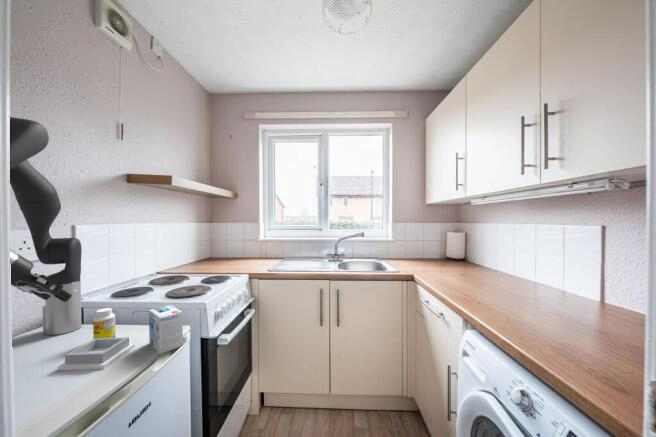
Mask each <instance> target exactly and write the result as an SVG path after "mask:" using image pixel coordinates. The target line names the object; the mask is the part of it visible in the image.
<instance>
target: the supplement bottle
mask: <svg viewBox="0 0 656 437" xmlns="http://www.w3.org/2000/svg"><path fill="white" fill-rule="evenodd" d="M92 325H93V326H92V330H93V331H92V333H93V335H92V336H93V338H92V339H95V338H116V314H114V313H113V309H112V308H111V307H106V308H100V309H97V310H96V312H95V316H94V317H93V319H92Z"/></svg>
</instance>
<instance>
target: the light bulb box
mask: <svg viewBox="0 0 656 437" xmlns="http://www.w3.org/2000/svg"><path fill="white" fill-rule="evenodd" d="M148 319H149V320H148V325H149V326H148V330H149V333H148V334H149V335H148V336H149V344H150V345H151V346H152V348H154V350H156V352H157V353H158V354H163V353H166V352H170V351H173V350H176V349H178V348H181V347H184V339H183V338H184V335H183V333H184V332H183V331H184V330H183V326H184V325H183V311H182V310H180V309H178V308H177V307H175V306H173V305H171V304H169V305H165V306H162V307H157V308H153V309H149V310H148Z"/></svg>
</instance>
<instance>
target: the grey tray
mask: <svg viewBox="0 0 656 437" xmlns="http://www.w3.org/2000/svg"><path fill="white" fill-rule="evenodd" d="M134 348H136V344H135V343H130V337H129V336H127V337H125V336H124V337H115V338H95V339H94V338H92V339H91V340H90V341H88V342H86V343H84V344H83V345H80V346H78V347H77V348H75V349H73V350H72V351H69V352H68V353H66V354H65V355H64V362H63V363H62V364H59V365H58V366H57V371H73V370H76V371H77V370H104V369H106V368H108V367H109V366H110V365H112V364H113V363H114V362H116V361H117V360H119V359H120V358H121V357H123V356H124V355H126V354H127V353H129V352H130V351H131V350H133V349H134Z"/></svg>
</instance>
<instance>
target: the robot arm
mask: <svg viewBox="0 0 656 437" xmlns="http://www.w3.org/2000/svg"><path fill="white" fill-rule="evenodd" d="M9 117H10V182H9V184H10V187H11V189H12V191H13V193H14V197H15V200H16V201H17V204H18V207H19V209H20V212H21V213H22V215H23V217H24V220H25V221H26V225H27V227H28V229H29V233H30V235H31V240H32V243H33V246H34V251H35V254H36V258H37V259H38V261H39V262H40V263H41V264H43V265H61V264H65V266H64V268H63V269H61V270H59V271H58V272H55V273H52V274H48V275H46V274H39V273H36V272H35V273H32V269H33V268H34V262H32V261H30V260H28V259H27V258H26V257H24V256H22V255H20V254H19V253H17V252H16V251H14V250H12V249H11V248H9V249H10V264H11V286H13V287H15V288H16V289H18V290H20V291H21V292H24V293H28V294H33V295H35V296H37V297H39V298H40V299H42V300H45V301H44V304H45V305H43V306H42V334H46V335H47V336H57V335H63V334H68V333H71V332H74V331H76V330H78V329H80V328H82V326H83V325H82V324H83V323H82V322H83V321H82V289H81V286H82V285H81V282H82V281H81V274H82V251H83V250H82V243H81V240H80V239H79V238H76V237H61V238H60V237H59V238H56V237H55V238H53V237H52V236H51V234H50V228H51V227H52V224H53V223H54V221H55V220H56V219H57V217H58V215H59V214H60V213H61V209H62V204H61V200H60V197H59V194H58V192H57V190H56V187H55V186H54V185H53V184H52V182H50V180H48V179H47V177H45V176H44V175H43V174H42V173H41V172H40V171H38V169H36V168H35V167H34V166H33V165H32V164H31V163H30V162H29V160H28V159H30V158H32V157H34V156H36V155H37V154H39V153H41V152H42V151H44V150H45V149H46V147H47V146H48V144H49V142H50V141H49V140H50V135H49V133H48V130H47V128H46V127H45V126H44V125H43V124H41V123H40V122H38V121H35V120H30V119H26V118H20V117H12V116H9Z"/></svg>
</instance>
